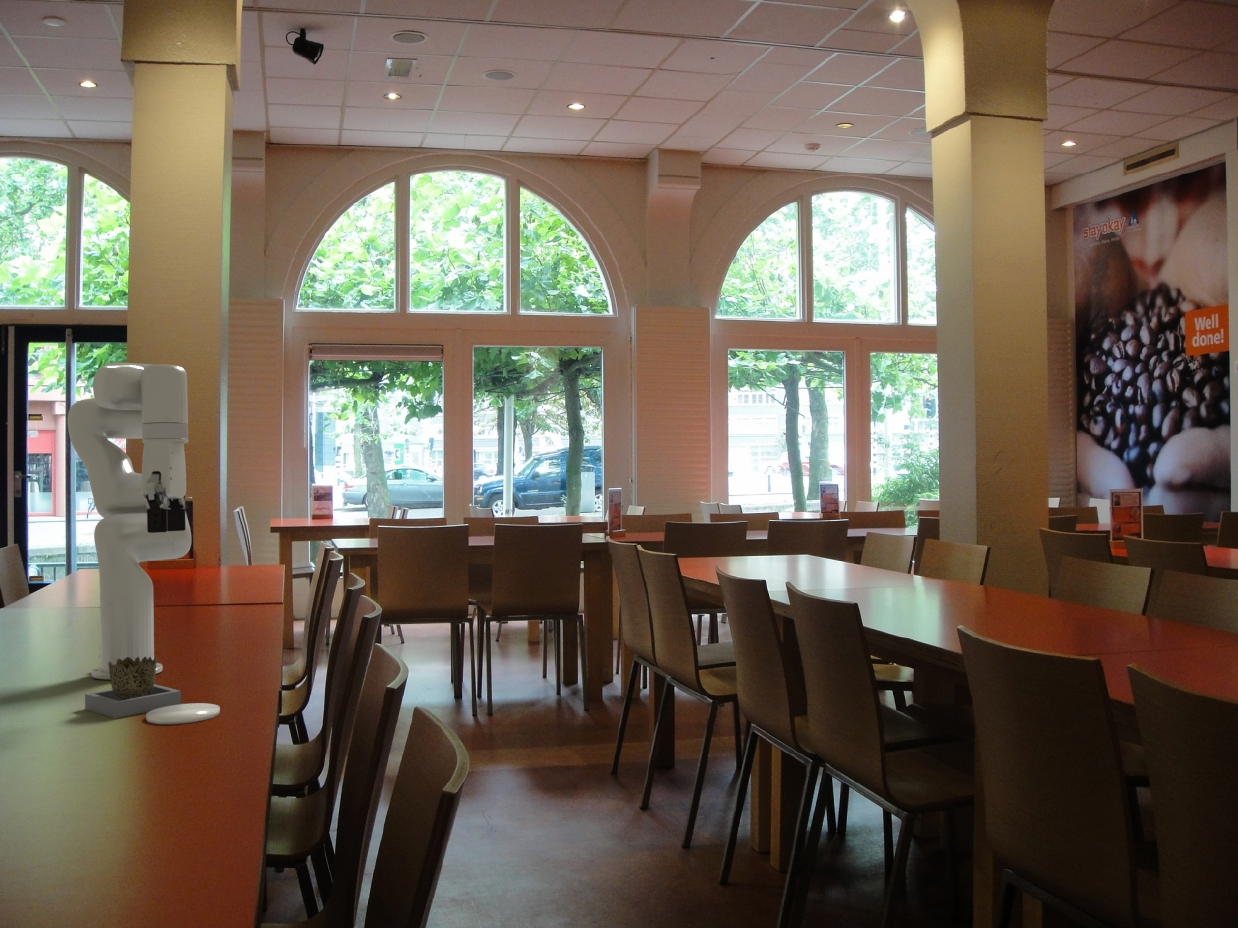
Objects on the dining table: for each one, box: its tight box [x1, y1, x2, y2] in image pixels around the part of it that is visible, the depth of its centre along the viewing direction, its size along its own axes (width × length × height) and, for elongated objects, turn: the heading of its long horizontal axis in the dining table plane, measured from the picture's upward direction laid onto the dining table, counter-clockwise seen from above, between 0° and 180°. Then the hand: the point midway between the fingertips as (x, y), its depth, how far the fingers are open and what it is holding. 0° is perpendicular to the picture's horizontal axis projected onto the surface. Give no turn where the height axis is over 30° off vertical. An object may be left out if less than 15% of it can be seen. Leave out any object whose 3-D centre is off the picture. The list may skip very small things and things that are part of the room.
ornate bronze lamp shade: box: [108, 657, 158, 700], centre depth 172 cm, size 8×7×8 cm
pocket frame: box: [84, 683, 182, 719], centre depth 172 cm, size 11×11×2 cm
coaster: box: [145, 702, 221, 725], centre depth 165 cm, size 11×11×1 cm
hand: (167, 531), depth 179 cm, fingers open, 9 cm apart
